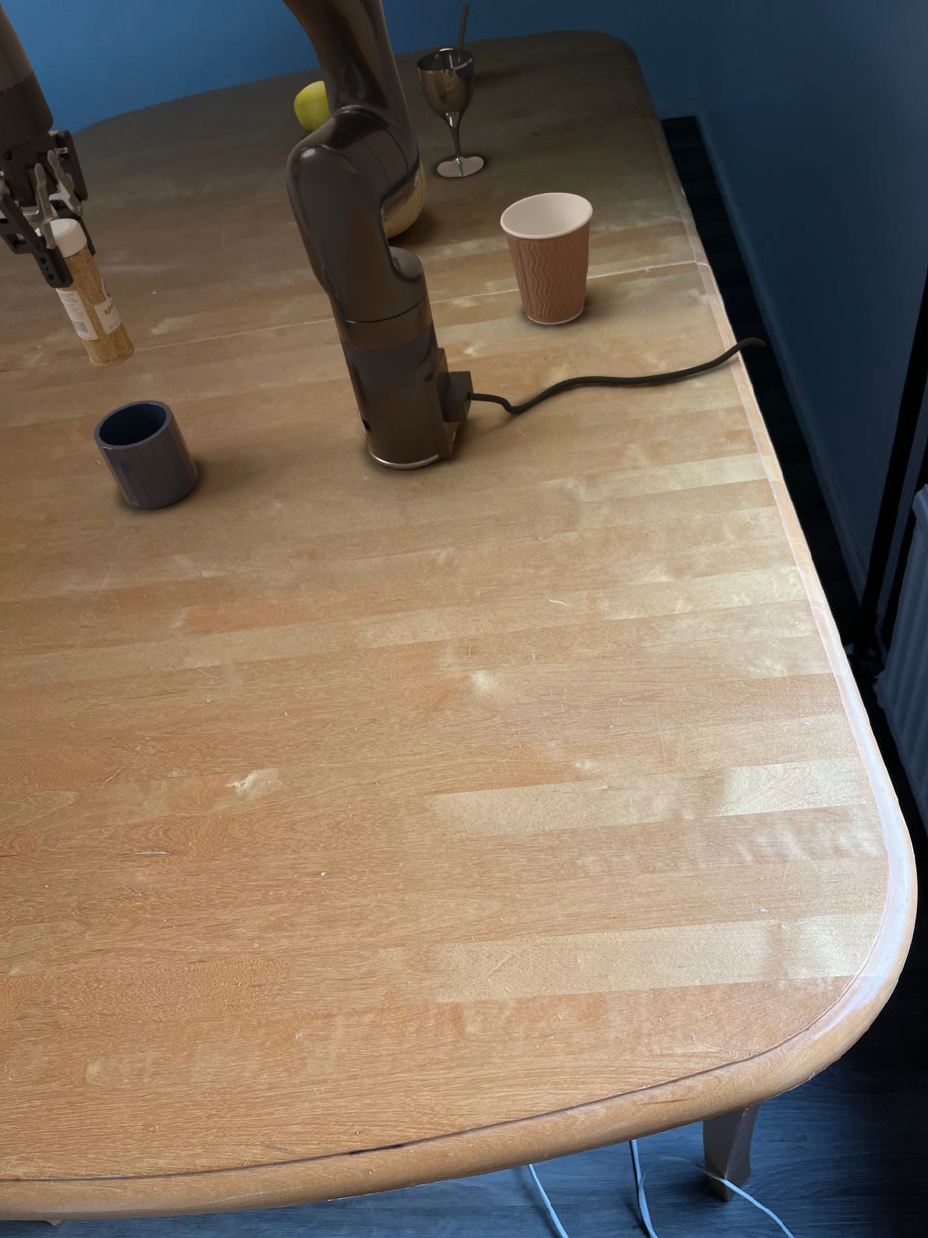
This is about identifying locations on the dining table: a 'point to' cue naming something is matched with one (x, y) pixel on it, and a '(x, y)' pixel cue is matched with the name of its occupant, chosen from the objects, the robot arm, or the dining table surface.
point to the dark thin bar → (462, 26)
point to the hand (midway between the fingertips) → (74, 270)
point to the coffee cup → (550, 254)
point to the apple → (312, 106)
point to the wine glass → (450, 100)
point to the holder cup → (146, 454)
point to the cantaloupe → (407, 210)
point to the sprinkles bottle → (90, 299)
